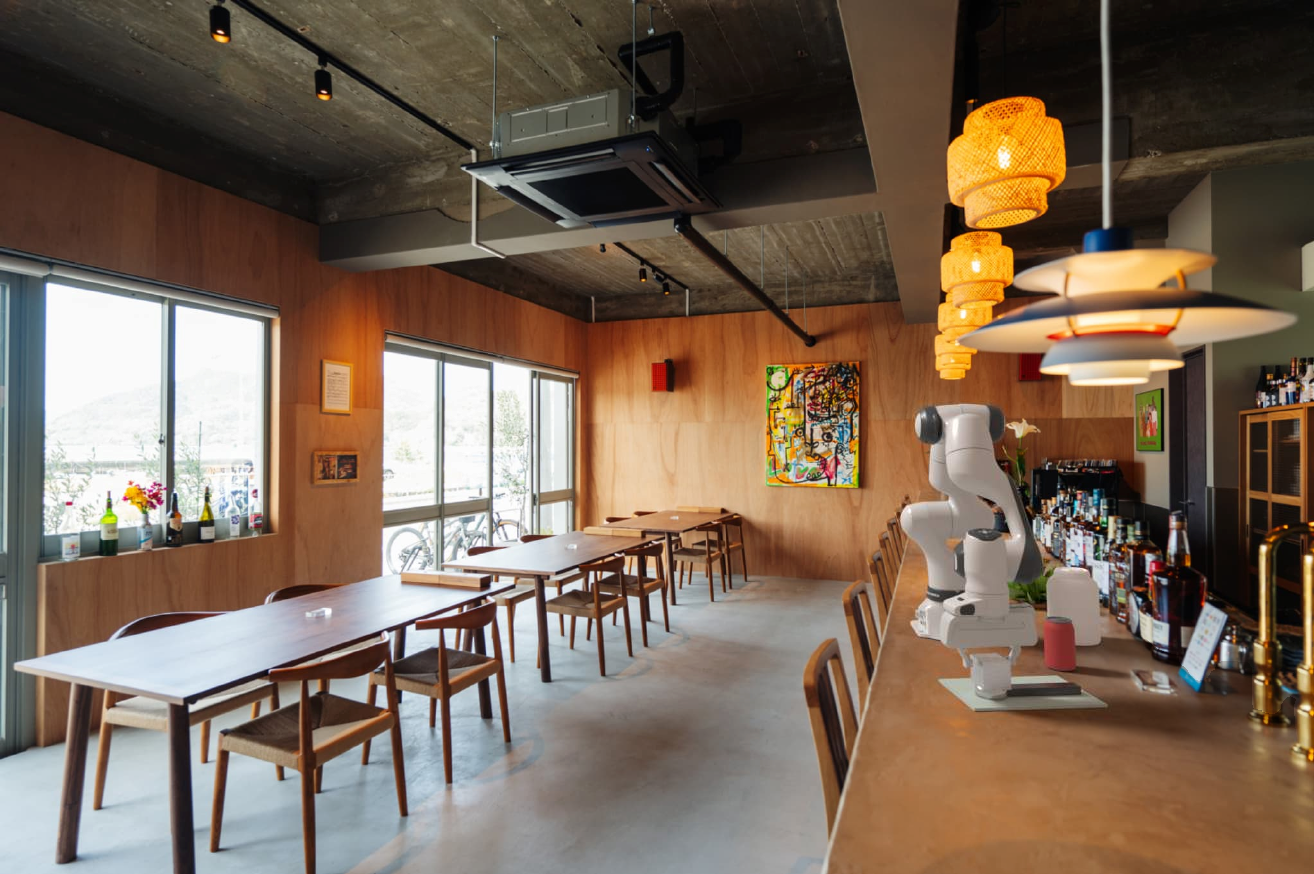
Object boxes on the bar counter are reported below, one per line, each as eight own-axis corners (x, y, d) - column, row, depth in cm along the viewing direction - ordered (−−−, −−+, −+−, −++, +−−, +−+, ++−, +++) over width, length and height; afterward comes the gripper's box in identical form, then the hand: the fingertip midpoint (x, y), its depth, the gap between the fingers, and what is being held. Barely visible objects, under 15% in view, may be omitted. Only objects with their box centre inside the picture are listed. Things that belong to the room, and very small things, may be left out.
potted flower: (1072, 599, 237) (1070, 549, 237) (1093, 616, 214) (1090, 560, 215) (993, 596, 244) (991, 548, 245) (1005, 612, 222) (1003, 558, 222)
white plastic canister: (1098, 636, 192) (1095, 566, 192) (1103, 649, 181) (1100, 574, 181) (1047, 632, 198) (1044, 563, 198) (1049, 644, 187) (1046, 571, 187)
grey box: (970, 680, 152) (969, 654, 152) (997, 680, 152) (996, 653, 152) (983, 690, 146) (982, 662, 146) (1011, 689, 146) (1010, 661, 146)
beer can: (1080, 672, 163) (1078, 622, 164) (1050, 671, 165) (1048, 622, 165) (1069, 664, 170) (1068, 616, 170) (1041, 663, 171) (1039, 615, 171)
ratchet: (969, 690, 153) (969, 667, 153) (1068, 687, 153) (1067, 664, 153) (983, 701, 146) (982, 676, 146) (1086, 697, 146) (1085, 673, 146)
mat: (938, 681, 160) (938, 679, 160) (1057, 678, 160) (1056, 675, 160) (974, 711, 142) (974, 708, 142) (1107, 707, 142) (1107, 704, 142)
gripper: (1026, 598, 153) (1028, 660, 153) (935, 601, 153) (937, 662, 153) (1042, 605, 147) (1044, 669, 147) (947, 608, 147) (950, 672, 147)
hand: (989, 666), depth 150 cm, fingers open, 8 cm apart
